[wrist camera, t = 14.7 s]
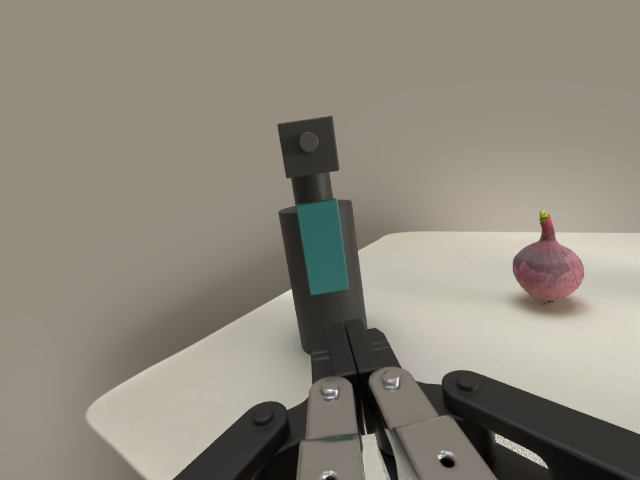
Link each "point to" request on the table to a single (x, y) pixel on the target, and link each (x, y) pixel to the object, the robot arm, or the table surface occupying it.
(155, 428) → the table surface
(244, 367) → the table surface
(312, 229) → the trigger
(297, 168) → the spray bottle
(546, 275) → the vegetable
